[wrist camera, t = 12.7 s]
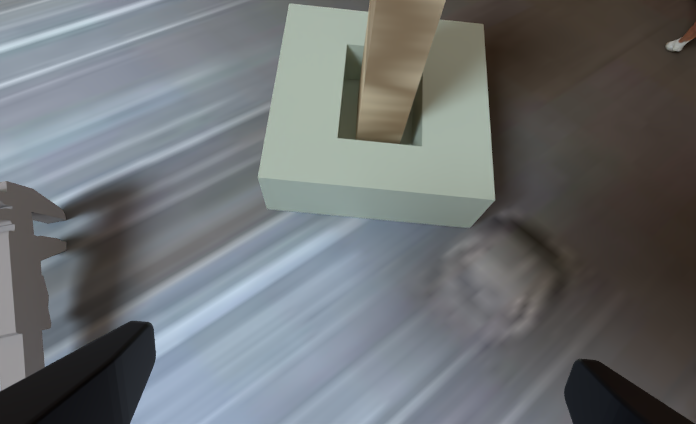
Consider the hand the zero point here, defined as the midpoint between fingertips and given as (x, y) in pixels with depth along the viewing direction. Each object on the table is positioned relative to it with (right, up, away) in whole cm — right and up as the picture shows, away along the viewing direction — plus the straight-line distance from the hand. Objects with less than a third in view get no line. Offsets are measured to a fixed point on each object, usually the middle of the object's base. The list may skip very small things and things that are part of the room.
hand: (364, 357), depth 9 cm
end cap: (+1, +8, +18) cm, 20 cm away
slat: (+1, +9, +17) cm, 19 cm away
